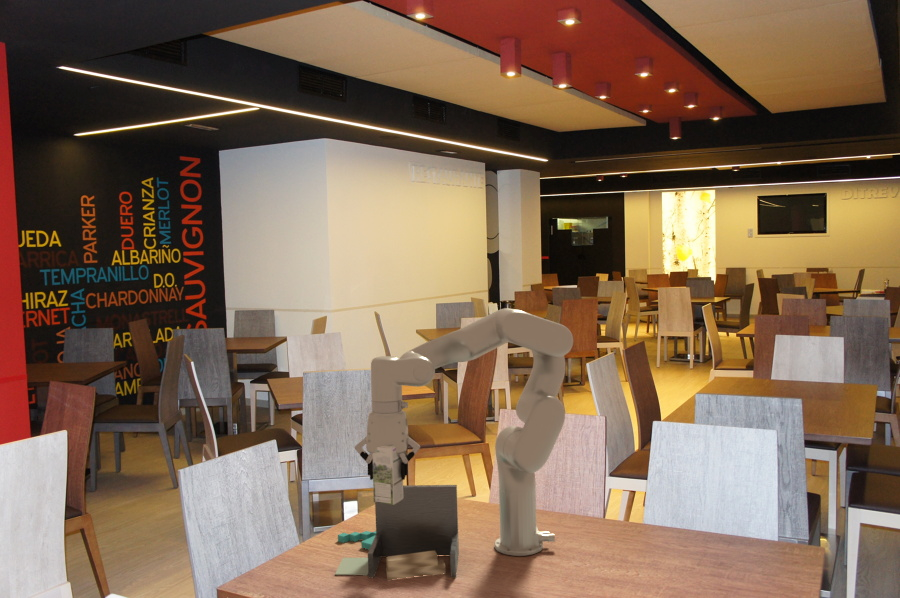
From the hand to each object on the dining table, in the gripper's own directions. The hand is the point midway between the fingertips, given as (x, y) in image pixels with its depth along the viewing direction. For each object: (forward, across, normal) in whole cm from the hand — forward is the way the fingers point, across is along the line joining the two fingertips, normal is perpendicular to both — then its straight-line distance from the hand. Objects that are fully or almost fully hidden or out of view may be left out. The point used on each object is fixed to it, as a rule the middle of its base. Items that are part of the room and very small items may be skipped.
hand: (387, 477), depth 185 cm
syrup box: (+6, 0, 0) cm, 6 cm away
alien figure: (+23, +2, -20) cm, 30 cm away
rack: (+22, -6, -1) cm, 23 cm away
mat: (+22, +8, 0) cm, 24 cm away
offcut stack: (+22, -7, +5) cm, 24 cm away
